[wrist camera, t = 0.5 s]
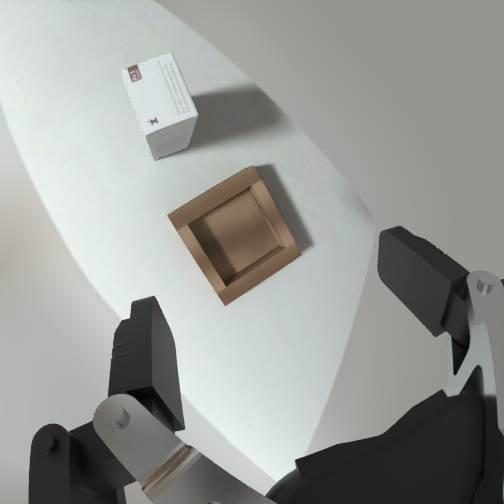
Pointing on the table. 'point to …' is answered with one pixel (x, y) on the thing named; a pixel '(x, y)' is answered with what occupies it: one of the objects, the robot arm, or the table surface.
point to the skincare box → (161, 104)
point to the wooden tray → (236, 234)
